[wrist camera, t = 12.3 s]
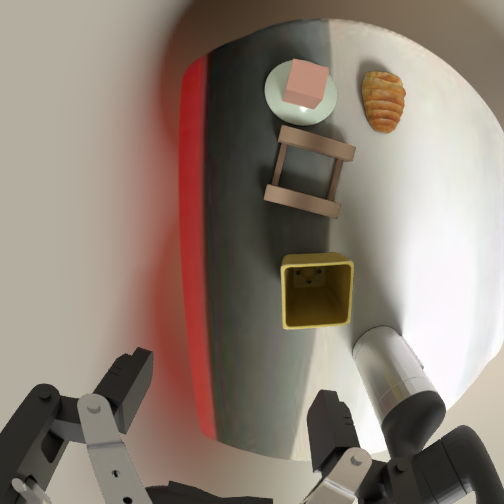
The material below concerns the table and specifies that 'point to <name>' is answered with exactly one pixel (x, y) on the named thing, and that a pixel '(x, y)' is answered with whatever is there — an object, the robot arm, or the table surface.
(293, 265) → the flower pot
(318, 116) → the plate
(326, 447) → the robot arm
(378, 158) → the table surface
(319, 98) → the part
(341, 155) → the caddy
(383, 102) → the pastry
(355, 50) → the table surface
